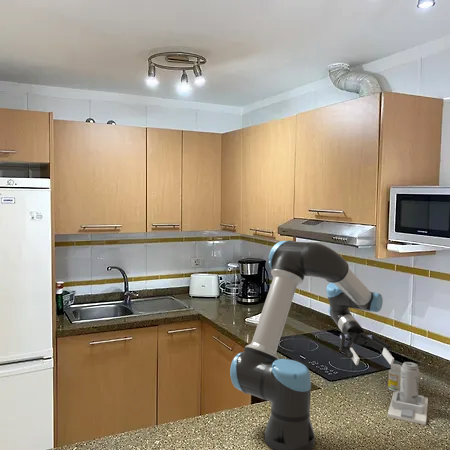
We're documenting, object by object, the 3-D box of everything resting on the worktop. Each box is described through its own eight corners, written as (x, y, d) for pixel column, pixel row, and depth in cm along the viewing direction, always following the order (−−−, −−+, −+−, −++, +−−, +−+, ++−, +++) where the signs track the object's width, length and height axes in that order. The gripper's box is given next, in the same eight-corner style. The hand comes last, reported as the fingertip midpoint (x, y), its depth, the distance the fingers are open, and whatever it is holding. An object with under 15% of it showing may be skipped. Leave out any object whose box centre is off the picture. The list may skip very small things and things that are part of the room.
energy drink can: (416, 410, 154) (418, 368, 153) (398, 406, 157) (399, 365, 156) (418, 404, 159) (420, 363, 159) (400, 400, 162) (402, 360, 162)
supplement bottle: (391, 392, 172) (392, 367, 171) (385, 386, 177) (386, 363, 177) (405, 391, 172) (406, 367, 172) (398, 386, 178) (399, 362, 177)
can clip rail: (425, 425, 146) (426, 414, 146) (387, 416, 151) (387, 406, 151) (427, 400, 165) (428, 391, 165) (393, 394, 170) (394, 385, 170)
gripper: (376, 336, 182) (403, 370, 163) (319, 335, 178) (340, 370, 158) (381, 321, 180) (409, 353, 160) (323, 319, 175) (345, 353, 156)
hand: (375, 362), depth 159 cm, fingers open, 13 cm apart
